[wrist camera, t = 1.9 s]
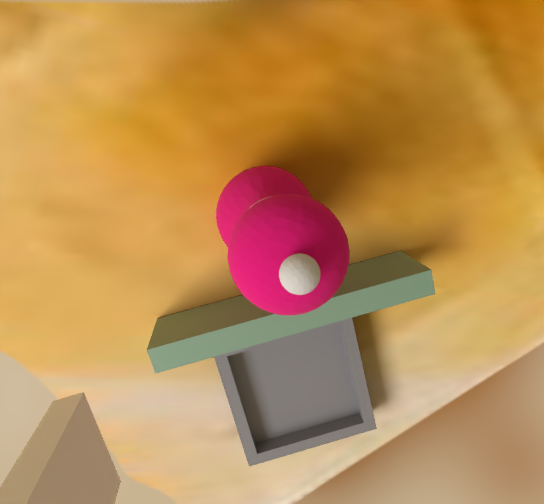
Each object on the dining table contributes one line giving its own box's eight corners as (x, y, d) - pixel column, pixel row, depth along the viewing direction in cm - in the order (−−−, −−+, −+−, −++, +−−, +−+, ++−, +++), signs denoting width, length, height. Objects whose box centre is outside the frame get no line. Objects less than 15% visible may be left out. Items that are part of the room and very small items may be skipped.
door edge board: (400, 250, 40) (431, 269, 35) (404, 271, 41) (435, 293, 35) (157, 318, 39) (146, 349, 34) (164, 338, 40) (155, 373, 34)
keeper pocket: (342, 299, 41) (350, 309, 38) (367, 412, 44) (376, 428, 42) (212, 336, 40) (211, 349, 38) (247, 448, 43) (249, 466, 41)
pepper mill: (241, 146, 37) (267, 158, 17) (318, 188, 38) (421, 242, 19) (201, 225, 38) (183, 319, 19) (277, 263, 39) (334, 385, 20)
